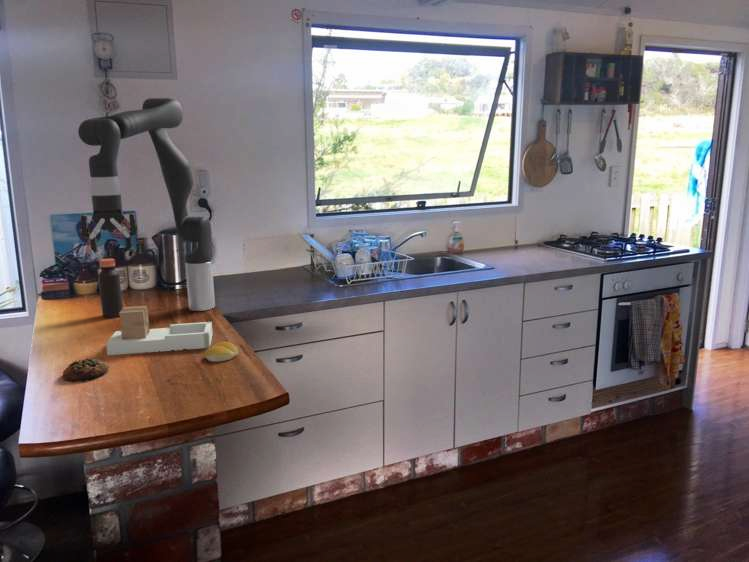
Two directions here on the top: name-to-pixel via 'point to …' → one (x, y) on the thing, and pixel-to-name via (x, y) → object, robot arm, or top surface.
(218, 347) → the bread roll
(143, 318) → the block
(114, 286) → the bottle
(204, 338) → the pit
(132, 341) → the ledge
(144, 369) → the top surface
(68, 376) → the bread roll
